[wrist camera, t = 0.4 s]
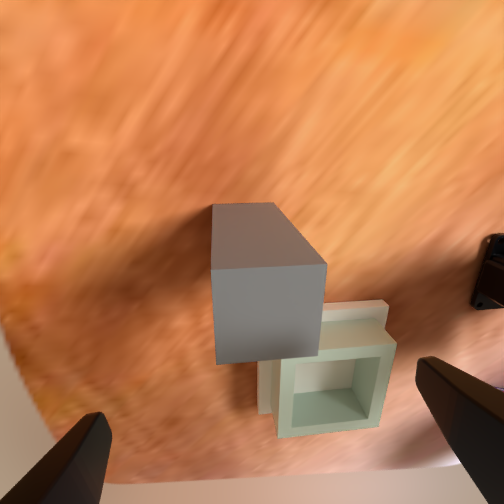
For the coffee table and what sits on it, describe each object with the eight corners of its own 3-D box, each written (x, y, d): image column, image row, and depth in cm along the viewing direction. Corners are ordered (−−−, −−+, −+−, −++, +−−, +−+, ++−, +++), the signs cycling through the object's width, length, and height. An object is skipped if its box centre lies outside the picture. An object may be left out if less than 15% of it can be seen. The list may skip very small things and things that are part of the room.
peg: (273, 202, 19) (327, 264, 10) (272, 258, 21) (318, 355, 12) (212, 204, 19) (210, 269, 10) (215, 260, 20) (216, 364, 11)
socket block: (382, 299, 23) (414, 330, 20) (364, 393, 27) (388, 434, 23) (257, 307, 22) (266, 342, 18) (257, 404, 26) (264, 449, 22)
